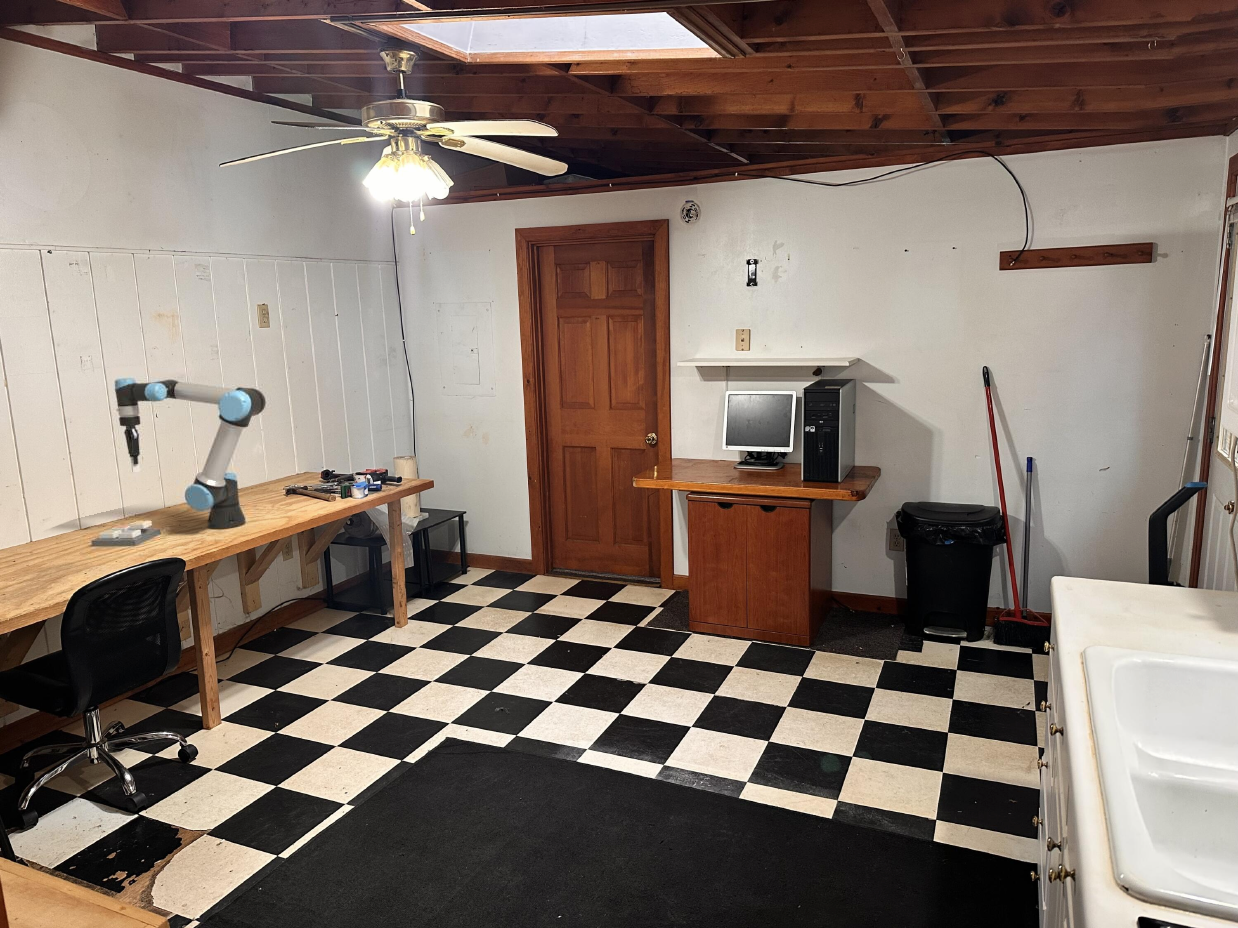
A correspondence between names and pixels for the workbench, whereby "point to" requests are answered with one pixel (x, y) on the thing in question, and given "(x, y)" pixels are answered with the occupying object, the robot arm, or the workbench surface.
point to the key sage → (109, 534)
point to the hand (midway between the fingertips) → (136, 471)
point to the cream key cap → (140, 525)
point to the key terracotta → (122, 527)
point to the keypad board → (127, 539)
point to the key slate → (129, 534)
